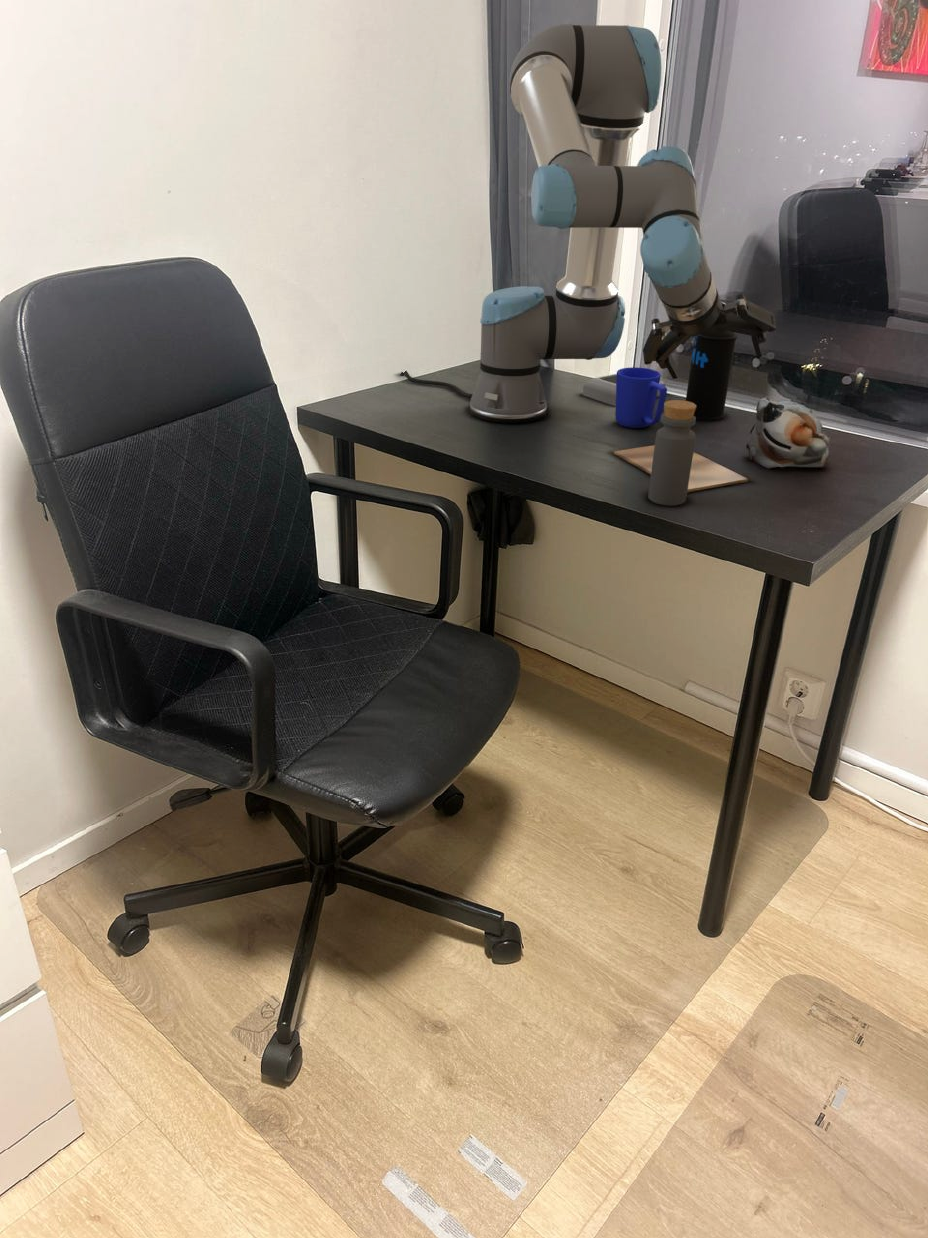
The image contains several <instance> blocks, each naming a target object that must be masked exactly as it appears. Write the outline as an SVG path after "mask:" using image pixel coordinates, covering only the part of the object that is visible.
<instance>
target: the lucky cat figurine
mask: <svg viewBox="0 0 928 1238" xmlns="http://www.w3.org/2000/svg"><path fill="white" fill-rule="evenodd" d="M755 410H756V415H755V418H756V419H755V423H754V424H753V426H752V427H751V429H750V431H749V435H748V439H747V443H746V445H745V448H746V449H747V450H748V452H749V453H748V454H749V460H750V461H752V462H754V463H755V464H758V465H759V466H762V467H763V468H766V469H774V468H778V467H780V468H786V467H794V468H795V467H797V468H798V467H799V468H817V469H818V468H820V469H823V468H824V467H825V465H826V464H827V460H828V458H829V456H830V451H829V447H828V446H829V443H830V440H831V437H828V436H827V434H826V433H823V432H822V431H823V428H824V427H823V424H822V422H821V420H820V418H819V417H818V416H817V415H816V414H814V413H813V412H812V410H811V409H809V408H808V407H806V406H805V405H804V404H800V403H798V402H796V401H790V400H788V401H787V400H779V401H777V402H775V403H773V402H771V401H770V400H769V398H768V397H763V398H761V399H759V400H758V401H757V405H756V409H755Z"/></svg>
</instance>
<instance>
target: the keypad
mask: <svg viewBox="0 0 928 1238" xmlns="http://www.w3.org/2000/svg"><path fill="white" fill-rule="evenodd" d="M616 379H617V373H613V374H608V375H602V376H598V377H597V376H596V377H593V378H591V379H589V380H587V381H586V382H584V384H583V386H582V396H584V397H587V398H590V399H593V400H596V401H598V402H601V403H605V404H608V405H610V406H612V407H616ZM659 384H661V385H663V386H665V387H666V386H667V385H666V382H664V381H663V380H660V382H659ZM659 395H660V390H659V389H658V392H657V397H659Z"/></svg>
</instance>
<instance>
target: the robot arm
mask: <svg viewBox="0 0 928 1238" xmlns="http://www.w3.org/2000/svg"><path fill="white" fill-rule="evenodd" d="M661 55H662V54H661V50H660V46H659V42H658V39H657V36H656V35H655V34H654V33H653V31H652V30H650V29H648V28H646V27H639V26H633V25H632V26H631V25H628V24H627V25H619V24H618V25H612V24H611V25H606V24H605V25H604V24H602V25H600V24H598V25H597V24H596V25H594V24H591V25H590V24H589V25H588V24H586V25H585V24H562V23H561V24H557V25H553V26H550V27H547V28H545V29H543V30H541V31H539V32H538V33H536V34H535V35H533V36H532V37H531V38H530V39H529V40H528V41H526V43H525V44H524V45H523V46H522V47H521V48H520V50H519V52H518V53H517V54H516V56H515V58H514V61H513V63H512V65H511V69H510V72H509V83H508V84H509V85H508V87H509V94H510V98H511V102H512V104H513V107H514V109H515V110H516V112H517V113H518V115H519V116H521V117H522V118H523V119H524V123H525V127H526V129H527V133H528V136H529V139H530V142H531V143H530V144H531V146H532V150H533V152H534V153H533V154H534V157H535V160H536V163H537V166H538V167H537V168H536V170H535V171H534V174H533V176H532V177H533V178H532V183H531V191H530V192H531V194H530V195H531V196H530V197H531V198H530V201H531V202H530V204H531V215H532V218H533V221H534V222H535V223H536V225H538V226H540V227H547V228H548V227H549V228H557V229H560V230H562V229H563V230H564V229H570V231H569V240H568V250H567V257H566V258H567V259H566V267H565V268H566V269H565V276H563V277H562V278H561V279H560V280H559V281H557V283H556V284H555V285H556V286H555V293H554V294H553V295H546V292H545V290H544V288H543V287H540V286H536V285H532V286H531V285H530V286H527V285H523V286H513V287H506V288H502V289H498V290H495V291H492V292H490V293H489V294H487V295H486V296H485V297H484V299H483V301H482V308H481V317H480V321H479V322H480V324H481V326H480V327H481V328H480V331H481V333H480V360H479V361H480V364H479V365H480V366H479V373H478V374H479V375H478V378H477V381H476V383H475V387H474V390H473V392H472V393H468V392H465V391H463V390H462V389H461V388H460V387H458V386H457V385H455V384H452V383H449V382H445V381H435V380H429V379H428V380H425V379H419V378H414V377H412V376H411V375H410V373H409V372H408V371H407V370H406V371H405V372H404V373H403V372H402V371H401V372H400V374H399V376H401V377H403V376H405V378H406V379H407V380H408V381H409V382H412V383H415V384H422V385H432V386H440V387H446V388H449V389H452V390H454V391H455V392H457V393H458V394H459V395H460V396H462V397H464V398H470V402H469V413H470V414H471V415H473V417H476V418H477V419H480V420H484V421H488V422H493V423H501V424H502V423H503V424H522V423H523V424H524V423H530V422H534V421H538V420H540V419H543V418H544V417H545V416H546V415H547V408H548V405H547V399H546V395H545V391H544V387H543V384H542V379H541V375H540V370H541V369H540V368H541V360H586V361H591V360H593V359H595V360H596V359H606V358H608V357H610V356H611V355H612V354H613V353H614V352H615V351H616V350H617V348H618V346H619V344H620V342H621V338H622V335H623V332H624V327H625V322H626V319H625V315H626V305H625V300H624V298H623V297H622V296H621V295H619V288H618V286H617V285H616V283H615V282H614V281H613V272H614V266H615V259H616V250H617V245H618V236H619V230H620V229H624V228H625V229H641V230H642V239H641V243H640V246H639V253H640V258H641V261H642V265H643V269H644V272H645V273H646V274H647V277H648V278H649V280H650V281H651V284H652V285H653V287H654V289H655V291H656V293H657V296H658V298H659V300H660V302H661V304H662V307H663V308H664V310H665V313H666V315H667V318H668V319H669V320H667V321H660V318H653V319H652V320H651V321H650V323H651V329H650V332H649V334H648V337H647V339H646V341H645V343H644V346H643V348H642V355H643V364H644V365H646V366H647V365H651V364H652V363H653V362H656V364H658V366H659V368H660V369H661V370H664V369H667V371H668V373H669V374H670V376H671V378H672V380H677V379H678V370H677V369H678V368H677V363H676V360H675V359H674V356H673V355H672V353H674V352H675V351H676V349H678V348H679V347H680V345H684V344H686V342H687V341H688V340H689V339H691V338H693V337H694V338H695V336H697V335H700V334H702V333H708V332H712V331H717V332H721V333H725V332H726V331H731V332H735V333H736V334H741V335H746V336H750V337H751V342H752V345H753V348H754V352H755V355H756V358H757V359H759V358H762V357H763V353H762V346H761V344H764V343H766V342H767V337H766V332H768V333H772V332H775V331H776V330H777V329H776V328H777V327H776V320H775V314H774V313H772V312H771V311H768V310H766V309H764V308H763V307H761V306H759V305H757V304H755V303H753V302H751V301H749V300H747V297H745V295H744V294H742V293H740V294H736V296H735V301H732V302H729V303H725V302H723V301H722V299H721V297H720V294H719V291H718V289H717V285H716V283H715V279H714V277H713V274H712V272H711V269H710V266H709V264H708V260H707V256H706V252H705V245H704V240H703V230H702V226H701V225H702V224H701V221H700V214H699V204H698V193H697V180H696V177H695V171H694V167H693V164H692V160H691V158H690V155H689V154H688V153H687V152H686V151H685V150H684V149H682V148H681V147H679V146H674V145H663V146H661V147H660V148H659V149H655V148H654V149H651V150H648V151H647V152H646V153H645V154H643V156H642V157H641V158H640V159H639V161H638V162H637V164H636V165H629V159H630V154H631V153H630V152H631V144H632V138H633V136H634V135H635V134H636V133H637V132H638V131H639V130H640V129H641V128H643V125H644V118H645V113H646V114H650V113H651V112H653V111H655V110H656V108H657V106H658V104H659V102H658V101H659V99H660V96H661V89H662V77H663V76H662V74H663V73H662V72H663V71H662V56H661ZM669 330H670V331H669Z"/></svg>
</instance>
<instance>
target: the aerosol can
mask: <svg viewBox="0 0 928 1238" xmlns="http://www.w3.org/2000/svg"><path fill="white" fill-rule="evenodd" d="M738 337H739V335H738V333H735V332H731V331H726V332H725V333H721V332H717V331H712V332H708V333H702V334H700V335H697V336H694V341H693V348H692V355H691V361H690V368H689V374H688V381H687V388H686V395H685V396H686V397H685V401H689V402H692V403H694V404H695V405H696V409H695V412H694V415H693V416H695V417H696V420H699V421H709V422H710V421H719V420H722V419H723V418H725V415H726V414H725V413H724V412H725V407H726V400H727V395H728V389H729V384H730V378H731V373H732V366H733V359H734V353H735V348H736V342H737V339H738Z"/></svg>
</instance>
